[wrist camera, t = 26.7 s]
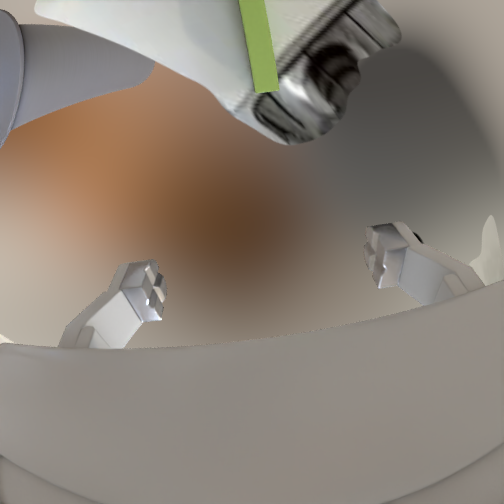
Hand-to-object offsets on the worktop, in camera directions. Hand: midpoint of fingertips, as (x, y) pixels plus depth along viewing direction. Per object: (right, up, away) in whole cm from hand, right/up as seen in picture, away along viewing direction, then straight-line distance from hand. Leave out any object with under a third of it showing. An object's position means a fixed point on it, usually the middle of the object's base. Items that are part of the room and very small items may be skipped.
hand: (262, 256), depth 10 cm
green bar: (0, +31, +15) cm, 35 cm away
